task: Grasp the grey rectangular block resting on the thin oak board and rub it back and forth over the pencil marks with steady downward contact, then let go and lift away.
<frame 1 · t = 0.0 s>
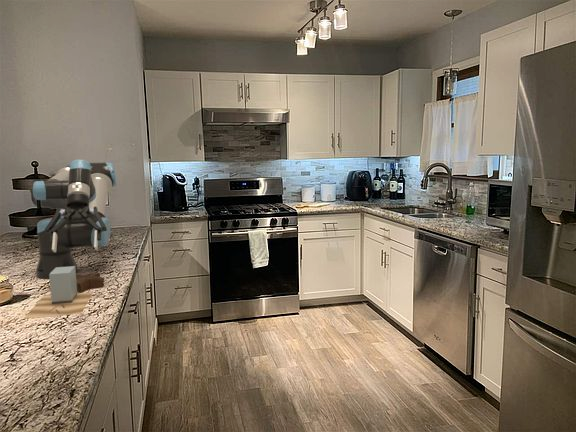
hand: (75, 249, 160), 15 cm above the counter, tool tilted 35°, fingers open, 13 cm apart
grey rectangular block: (65, 299, 153), point 1 cm above the counter, touching board
decorative item: (83, 289, 167), on the counter
board: (61, 306, 147), on the counter
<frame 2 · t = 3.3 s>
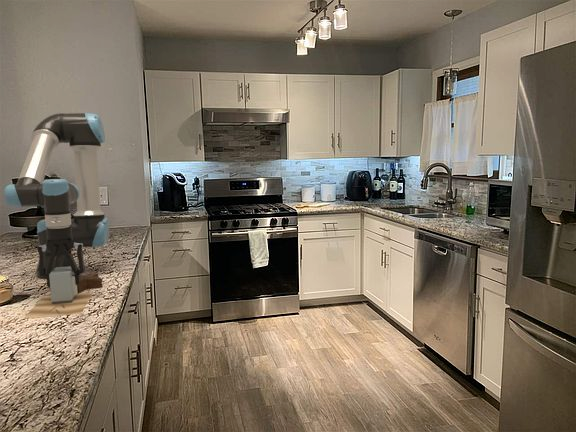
hand: (64, 294, 152), 2 cm above the counter, tool pointing down, fingers closed on grey rectangular block, 6 cm apart
grey rectangular block: (65, 299, 153), point 1 cm above the counter, touching board, gripper
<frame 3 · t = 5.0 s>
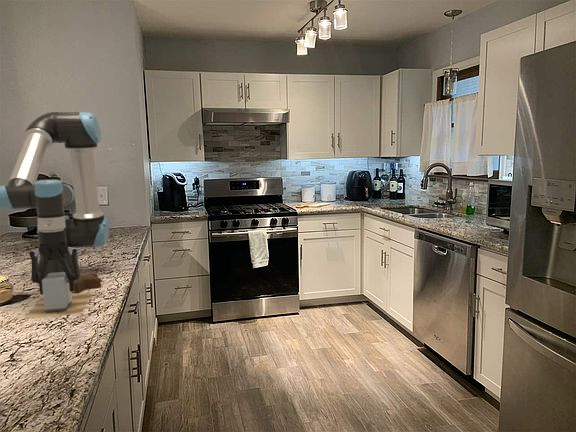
hand: (58, 302, 144), 2 cm above the counter, tool pointing down, fingers closed on grey rectangular block, 6 cm apart
grey rectangular block: (58, 306, 144), point 1 cm above the counter, touching gripper
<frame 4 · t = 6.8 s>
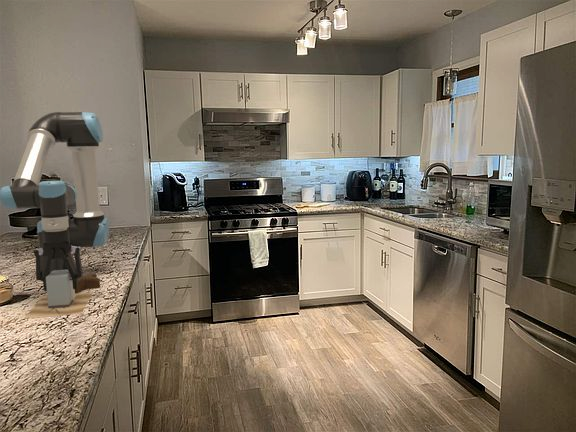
hand: (62, 299, 149), 2 cm above the counter, tool pointing down, fingers closed on grey rectangular block, 6 cm apart
grey rectangular block: (62, 303, 148), point 1 cm above the counter, touching gripper
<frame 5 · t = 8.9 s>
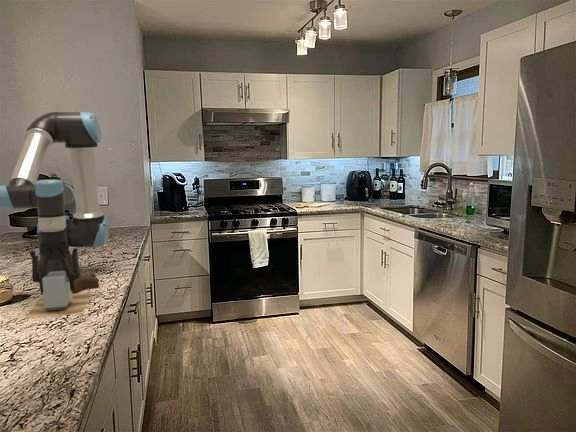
hand: (59, 301, 145), 2 cm above the counter, tool pointing down, fingers closed on grey rectangular block, 6 cm apart
grey rectangular block: (59, 305, 145), point 1 cm above the counter, touching gripper
when the fingers open (2 cm above the counter, at t = 10.5 s): grey rectangular block stays where it is, resting on board.
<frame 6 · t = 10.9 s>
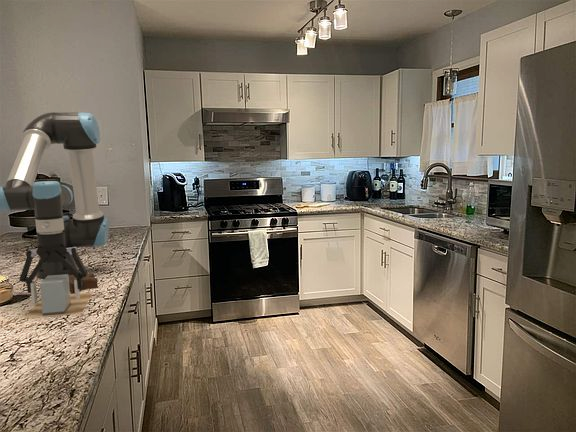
hand: (56, 300, 142), 3 cm above the counter, tool pointing down, fingers open, 11 cm apart
grey rectangular block: (57, 309, 142), point 1 cm above the counter, touching board
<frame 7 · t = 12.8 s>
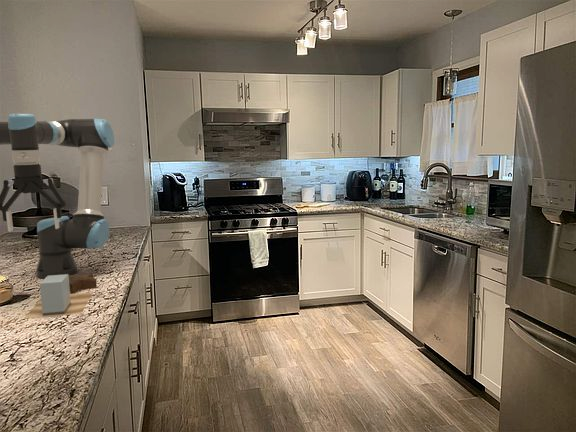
hand: (34, 229, 148), 24 cm above the counter, tool pointing down, fingers open, 13 cm apart
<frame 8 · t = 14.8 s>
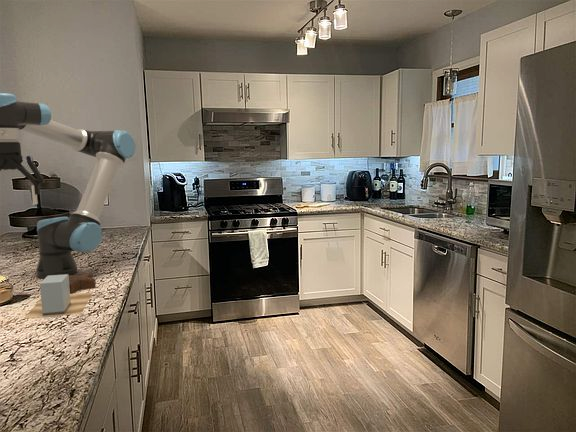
hand: (13, 205, 154), 32 cm above the counter, tool pointing down, fingers open, 13 cm apart
at the end: grey rectangular block inside the target area (0.2 cm from its centre), point 0.6 cm above the counter; grey rectangular block tilted 0°; the gripper is holding nothing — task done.
